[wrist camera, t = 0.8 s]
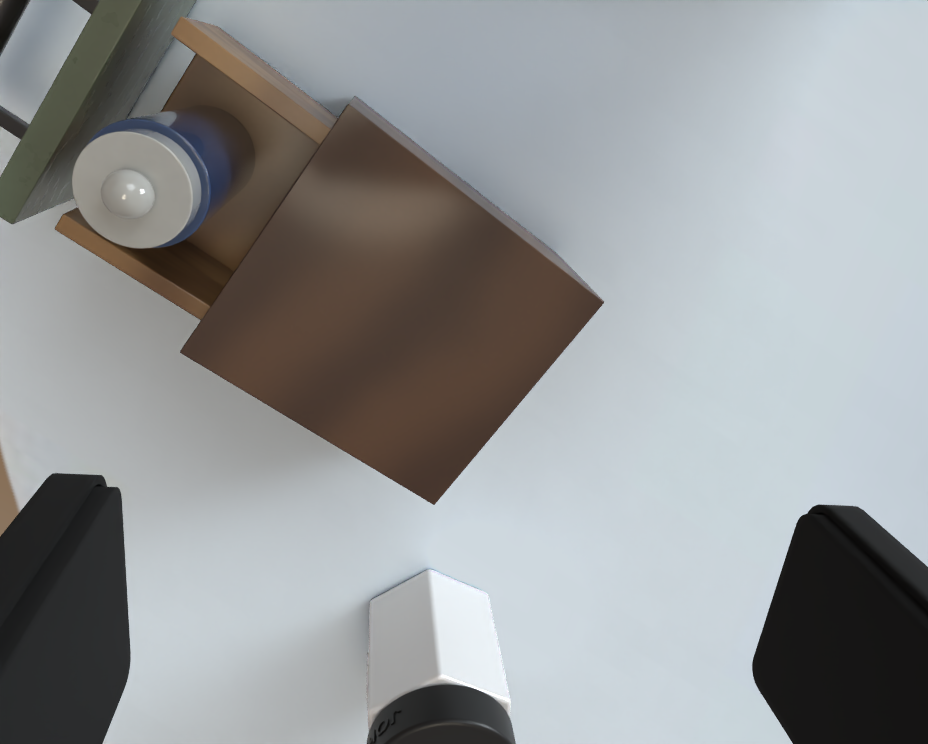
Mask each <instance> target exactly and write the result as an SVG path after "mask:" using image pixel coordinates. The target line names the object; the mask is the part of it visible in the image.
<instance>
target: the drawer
mask: <svg viewBox="0 0 928 744" xmlns="http://www.w3.org/2000/svg"><path fill="white" fill-rule="evenodd" d="M73 1H74V2H75V3H77V4H78V5H80V6H81V7H82V8H84V9H85V10H86V11H88V12H89V13H91V14H92V15H91V17H90V18H89V20H88V22H87V24H86V25H85V27H84V29H83V31H82V33H81V34H80V36H79V38H78V40H77V41H76V43H75V45H74V47H73V49H72V50H71V52H70V54H69V56H68V57H67V59H66V61H65V63H64V65H63V66H62V68H61V70H60V72H59V73H58V75H57V77H56V79H55V81H54V82H53V84H52V86H51V88H50V89H49V91H48V93H47V95H46V97H45V98H44V100H43V102H42V104H41V105H40V107H39V109H38V111H37V113H36V114H35V116H34V118H33V120H32V121H31V123H30V125H29V124H28V123H26V122H25V121H23V120H21V119H20V118H18V117H17V116H15V115H14V114H12V113H11V112H9V111H8V110H6V109H5V108H3V107H2V106H0V126H1V127H3V128H4V129H6V130H7V131H9V132H10V133H12V134H13V135H15V136H16V137H18V138H19V139H21V141H20V143H19V145H18V146H17V148H16V150H15V152H14V153H13V155H12V157H11V159H10V161H9V162H8V164H7V166H6V168H5V169H4V171H3V173H2V175H1V177H0V217H1V218H3V219H4V220H6V221H7V222H9V223H11V224H14V223H17V222H19V221H22V220H24V219H26V218H29V217H31V216H33V215H36V214H38V213H40V212H43V211H45V210H47V209H50V208H52V207H54V206H57V205H59V204H62V203H64V202H66V201H69V200H71V199H73V198H74V194H73V189H72V174H73V169H74V166H75V162H76V160H77V158H78V156H79V155H80V153H81V152H82V150H83V149H84V148H85V146H86V145H87V143H88V142H89V140H90V139H91V138H92V137H93V136H94V135H95V134H96V133H97V132H98V131H100V130H101V129H102V128H104V127H106V126H107V125H109V124H112V123H114V122H117V121H121V120H125V119H126V117H127V115H128V114H129V112H130V110H131V109H132V107H133V105H134V104H135V102H136V100H137V99H138V97H139V95H140V94H141V92H142V90H143V89H144V87H145V85H146V84H147V82H148V80H149V79H150V77H151V75H152V74H153V72H154V70H155V69H156V67H157V65H158V64H159V62H160V60H161V59H162V57H163V55H164V54H165V52H166V50H167V49H168V47H169V45H170V44H171V42H172V40H173V38H174V37H175V38H176V39H178V40H179V41H180V42H182V43H183V44H184V45H186V46H187V47H188V48H190V49H191V50H192V51H194V52H195V53H196V55H195V56H194V58H193V59H192V61H191V63H190V64H189V66H188V68H187V69H186V71H185V73H184V74H183V76H182V78H181V79H180V81H179V82H178V84H177V86H176V87H175V89H174V91H173V92H172V94H171V96H170V97H169V99H168V101H167V102H166V104H165V105H164V107H163V109H162V110H161V112H166V111H171V110H176V109H181V108H186V107H191V106H196V105H208V106H213V107H217V108H220V109H222V110H224V111H226V112H228V113H230V114H231V115H233V116H234V117H235V118H236V119H238V120H239V121H240V122H241V123H242V124H243V126H244V127H245V128H246V130H247V131H248V133H249V135H250V137H251V139H252V142H253V145H254V149H255V168H254V172H253V174H252V177H251V179H250V181H249V182H248V184H247V185H246V186H245V188H244V189H243V190H241V191H240V192H239V193H238V194H237V195H236V196H235V197H234V198H233V199H231V200H230V201H229V202H228V203H227V204H226V205H225V206H224V207H223V208H221V209H220V210H219V211H218V212H217V213H216V214H215V215H214V216H212V217H211V218H210V219H209V220H208V221H207V222H206V223H205V224H204V225H202V226H201V227H200V228H199V229H198V230H197V231H196V232H195V233H193V234H192V235H191V236H190V237H188V238H187V239H185V240H184V241H182V242H180V243H177V244H175V245H172V246H167V247H162V248H143V249H141V248H130V247H125V246H122V245H119V244H116V243H114V242H112V241H110V240H108V239H106V238H105V237H103V236H102V235H100V234H99V233H98V232H97V231H95V230H94V229H93V228H92V227H91V226H90V225H89V224H88V222H87V221H86V220H85V218H84V217H83V216H82V214H81V212H80V210H79V209H78V208H76V209H74V210H71V211H69V212H67V213H65V214H63V215H62V217H61V219H60V220H59V222H58V224H57V225H56V227H55V230H57V231H58V232H60V233H61V234H63V235H65V236H66V237H68V238H69V239H71V240H73V241H74V242H76V243H78V244H79V245H81V246H82V247H84V248H86V249H87V250H89V251H90V252H92V253H94V254H95V255H97V256H98V257H100V258H102V259H103V260H105V261H106V262H108V263H110V264H111V265H113V266H115V267H116V268H118V269H119V270H121V271H123V272H124V273H126V274H127V275H129V276H131V277H132V278H134V279H135V280H137V281H139V282H140V283H142V284H143V285H145V286H147V287H148V288H150V289H152V290H153V291H155V292H156V293H158V294H160V295H161V296H163V297H164V298H166V299H168V300H169V301H171V302H172V303H174V304H176V305H177V306H179V307H180V308H182V309H184V310H185V311H187V312H189V313H190V314H192V315H193V316H195V317H197V318H198V319H200V320H202V318H203V317H204V315H205V314H206V313H207V311H208V310H209V308H210V307H211V305H212V304H213V302H214V301H215V299H216V298H217V296H218V295H219V293H220V292H221V290H222V289H223V287H224V286H225V285H226V283H227V282H228V280H229V279H230V277H231V276H232V274H233V273H234V271H235V270H236V268H237V267H238V265H239V264H240V262H241V261H242V260H243V258H244V257H245V255H246V254H247V252H248V251H249V249H250V248H251V246H252V245H253V243H254V242H255V240H256V239H257V237H258V236H259V234H260V233H261V232H262V230H263V229H264V227H265V226H266V224H267V223H268V221H269V220H270V218H271V217H272V215H273V214H274V212H275V211H276V209H277V208H278V206H279V205H280V204H281V202H282V201H283V199H284V198H285V196H286V195H287V193H288V192H289V190H290V189H291V187H292V186H293V184H294V183H295V181H296V180H297V178H298V177H299V176H300V174H301V173H302V171H303V170H304V168H305V167H306V165H307V164H308V162H309V161H310V159H311V158H312V156H313V155H314V153H315V152H316V150H317V149H318V148H319V146H320V145H321V143H322V142H323V140H324V139H325V137H326V136H327V134H328V133H329V131H330V130H331V128H332V127H333V125H334V124H335V123H336V121H337V120H338V118H337V117H336V116H334V115H333V114H332V113H330V112H329V111H328V110H327V109H325V108H324V107H323V106H321V105H320V104H319V103H317V102H316V101H315V100H313V99H312V98H311V97H310V96H308V95H307V94H306V93H304V92H303V91H302V90H300V89H299V88H298V87H296V86H295V85H294V84H293V83H291V82H290V81H289V80H287V79H286V78H285V77H283V76H282V75H281V74H279V73H278V72H277V71H276V70H274V69H273V68H272V67H270V66H269V65H268V64H266V63H265V62H264V61H262V60H261V59H260V58H259V57H257V56H256V55H255V54H253V53H252V52H251V51H249V50H248V49H247V48H245V47H244V46H243V45H242V44H240V43H239V42H238V41H236V40H235V39H234V38H232V37H231V36H230V35H229V34H227V33H226V32H225V31H223V30H222V29H221V28H219V27H218V26H215V25H212V24H208V23H204V22H201V21H197V20H193V19H189V18H186V17H187V15H188V13H189V12H190V10H191V8H192V7H193V5H194V3H195V2H196V0H73ZM29 2H30V0H0V56H1V54H2V52H3V50H4V48H5V46H6V45H7V43H8V41H9V39H10V37H11V35H12V33H13V32H14V30H15V28H16V26H17V24H18V22H19V20H20V19H21V17H22V15H23V13H24V11H25V9H26V7H27V6H28V4H29ZM161 112H160V113H161Z"/></svg>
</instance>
